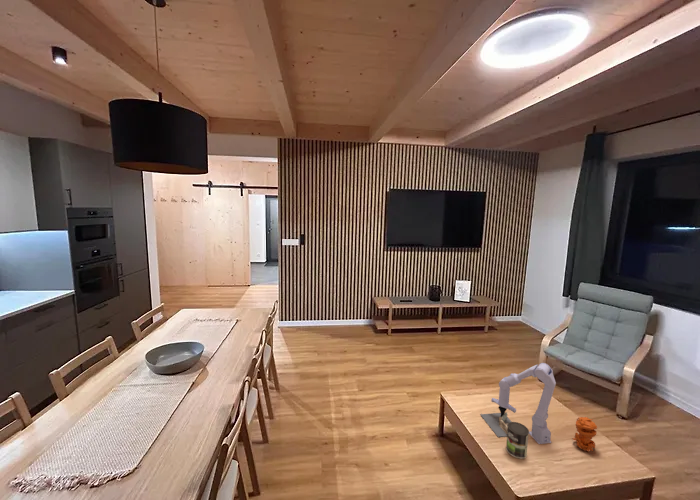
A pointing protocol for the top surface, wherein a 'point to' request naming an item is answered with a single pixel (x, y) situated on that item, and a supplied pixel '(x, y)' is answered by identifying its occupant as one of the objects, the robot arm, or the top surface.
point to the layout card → (495, 423)
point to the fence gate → (504, 416)
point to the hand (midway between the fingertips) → (502, 417)
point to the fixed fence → (503, 424)
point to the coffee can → (517, 440)
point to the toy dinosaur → (585, 433)
